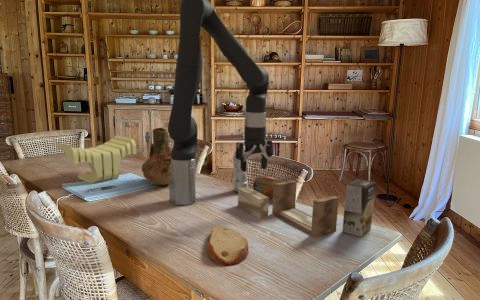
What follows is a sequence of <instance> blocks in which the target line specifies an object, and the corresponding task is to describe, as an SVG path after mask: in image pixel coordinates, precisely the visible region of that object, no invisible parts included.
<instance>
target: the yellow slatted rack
mask: <svg viewBox="0 0 480 300" xmlns="http://www.w3.org/2000/svg"><path fill="white" fill-rule="evenodd" d="M55 146H56V147H55V148H56V149H57V150H59V151H61V152H63V153H65V155H66V156H67V158H68V161H69V164H71V165H73V166H75V165H78V164H82V163H85V162H87V163H88V166H89V167H90V169H91V170H89V171H86V172H84V171H83V172H79V173H78V175H77V179H80V180H83V181H85V182H87V181H88V183H90V182H92V183H91V184H94V183H97V182H103V181H107V180H111V179H117V178H119V177H120V166H121V162H122V159H123V158H124V157H126V156H128V155H137V144H136V141H135V139H134V138H132V137H129V136H124V135H119V134H115V136H114V137H113V138H110V140H108V141H106V142H103V144H99V145H97V146H94V147H87V148H78V147H73V146H70V145H67V144H63V143H60V142H55Z"/></svg>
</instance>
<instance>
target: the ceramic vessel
mask: <svg viewBox="0 0 480 300" xmlns="http://www.w3.org/2000/svg"><path fill="white" fill-rule="evenodd" d="M152 141H153V142H152V143H151V144H150V151H149V158H148V159H146V160H145V161H144V162H143V163H142V165H141V171H142V172H143V173H142V174H143V176H144V179H146V180H147V181H148V182H149V183H151V184H152V185H156V186H165V185H169V177H171V151H172V148H171V146H170V145H169V133H168V129H166V128H164V127H157V128H156V127H155V128H153V129H152Z"/></svg>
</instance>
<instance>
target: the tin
mask: <svg viewBox="0 0 480 300" xmlns="http://www.w3.org/2000/svg"><path fill="white" fill-rule="evenodd" d="M253 181H254V182H253V190H255V191H257V192H259V193H261V194H263V195H265V196H267V197H269V200H270V199H271V200H273V185H274V184H275V183H281V182H285V181H284V180H283V179H281V178H277V177H271V176H263V175H262V176H258V177H256V178H255V179H254V180H253Z"/></svg>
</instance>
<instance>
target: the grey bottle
mask: <svg viewBox="0 0 480 300" xmlns="http://www.w3.org/2000/svg"><path fill="white" fill-rule="evenodd" d="M244 149H245V147H244V148H243V151H244ZM232 161H233V162H232V163H233V180H232V185H231V188H232V190H233V191H234V192H235V193H238V188H243V187H248V188H249V182H248V174H247V173H248V169H247V170H246V172H243V171H242V170H241V168H240V167H241V161H240V160H238V159H236V152H234V154H233V155H232ZM246 162H247V166H248V164H249V158H248V159H247V160H246Z"/></svg>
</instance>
